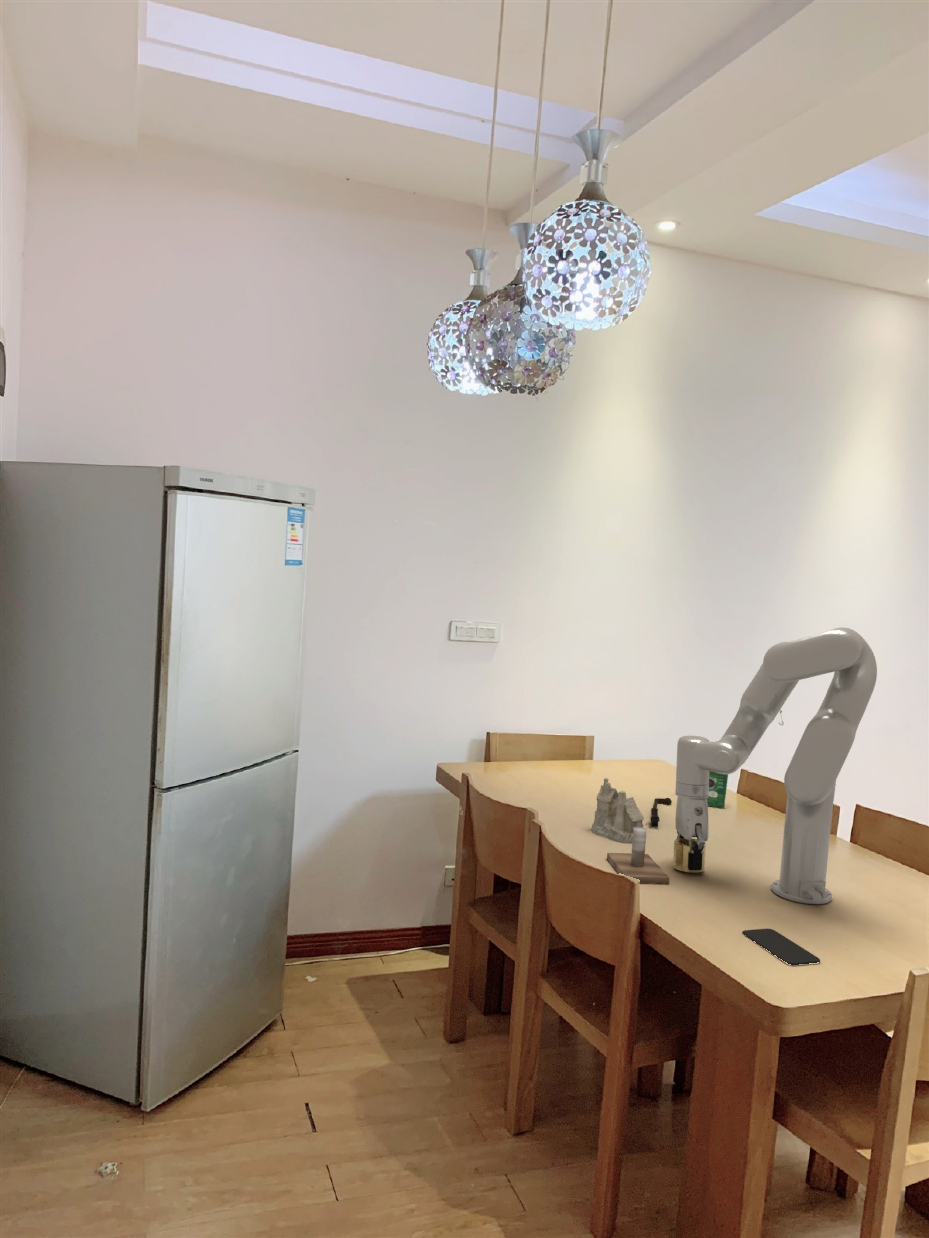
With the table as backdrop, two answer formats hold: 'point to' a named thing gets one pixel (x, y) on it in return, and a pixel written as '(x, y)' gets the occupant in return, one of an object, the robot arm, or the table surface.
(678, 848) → the ring
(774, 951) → the phone
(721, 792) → the coffee box
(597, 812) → the ceramic cottage
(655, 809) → the wrench
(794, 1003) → the table surface
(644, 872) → the post board
